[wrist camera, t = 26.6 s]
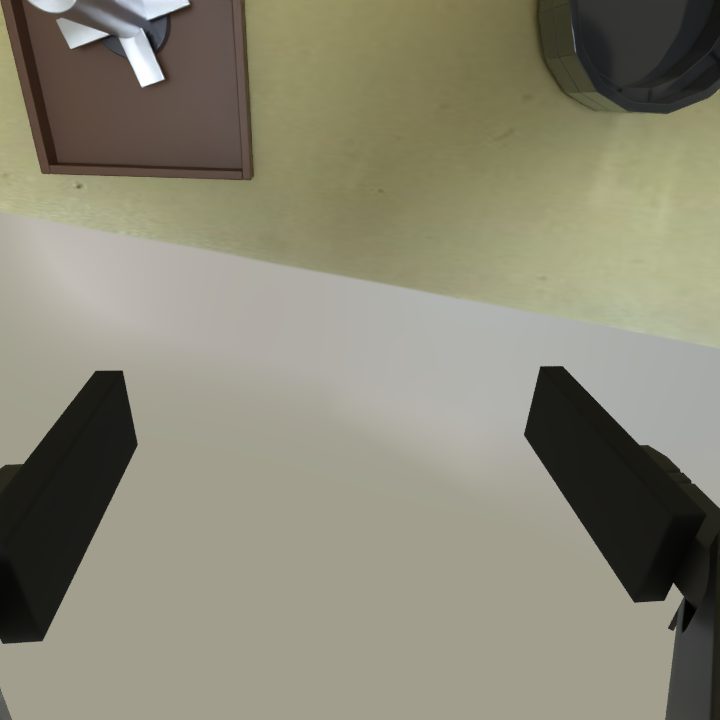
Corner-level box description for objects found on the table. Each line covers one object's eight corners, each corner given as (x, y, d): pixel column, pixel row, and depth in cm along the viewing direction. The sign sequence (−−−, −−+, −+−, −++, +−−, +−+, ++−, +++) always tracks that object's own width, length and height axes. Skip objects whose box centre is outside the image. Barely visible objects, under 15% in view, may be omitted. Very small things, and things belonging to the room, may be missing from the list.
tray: (235, -176, 29) (230, -194, 27) (253, 176, 37) (251, 180, 36) (-31, -205, 27) (-54, -226, 25) (54, 170, 36) (41, 173, 34)
